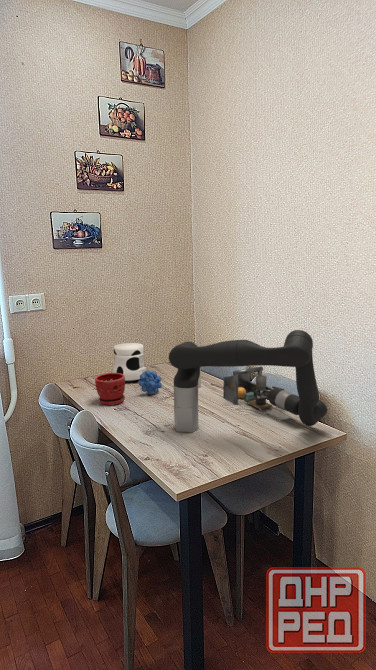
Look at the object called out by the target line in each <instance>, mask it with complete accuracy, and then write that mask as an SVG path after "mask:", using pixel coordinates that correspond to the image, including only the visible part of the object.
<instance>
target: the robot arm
mask: <svg viewBox="0 0 376 670" xmlns="http://www.w3.org/2000/svg"><path fill="white" fill-rule="evenodd" d="M284 340H285V341H284V344H283V346H277V347H265V346H263V345H260V344H257V343H256V342H254V341H251V340H248V339H233V340H226V341H224V340H223V341H221V342H215V343H212V344H208V345H202V346H198V345H197V344H196V343H195V342H194V341H184V342H182V343H180V344H177V345H175V346H174V347H172V349H171V350H170V351H169V353H168V360H169V364H170V365H171V366H173V367H174V368H175V369H177V371H176V374H175V375H174V377H173V417H174V423H173V424H174V429H175V430H176V432H178V433H182V432H183V433H193V432H195V431H197V430H198V429H199V387H198V379H199V376H200V367H201V368H202V367H214V368H216V367H217V368H218V367H220V368H221V367H222V368H223V367H225V368H226V367H229V368H230V367H231V368H233V367H250V366H252V367H254V366H255V367H256V366H257V367H261V366H262V367H263V366H272V367H287V368H289V367H290V368H295V383H296V390H297V394H298V395H296V394H294V393H292V392H290V391H289V390H285V389H284V388H282V387H277V386H267V385H266V390H265V389H261V390H260V389H258V388H255V387H252V392H253V393H254V397H255V398H256V399H258V400H261V398H264V399H266V401H267V400H268V402H269V404H271V405H272V406H274V407H276V408H278V409H280V410H282V411H286V412H289V413H291V414H292V415H295V416H298V419H299V420H300V421H301V423H302V424H303V425H305V426H307V427H313V426H316V424H318V422H319V421H320V420H322V419H323V418H324V417H325V416H326V414H327V413H328V407H327V405H326V404H325V403H324V401H322V400H320V392H319V388H318V382H317V377H316V373H315V367H314V359H313V357H314V356H313V348H314V340H313V338H312V336H311V335H310V334H309V333H308V332H307V331H306V330H305V331H304V330H301V329H295V330H292V331H290V332H289V333H288V334H287V336H286V338H285V339H284ZM259 391H260V393H259Z"/></svg>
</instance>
